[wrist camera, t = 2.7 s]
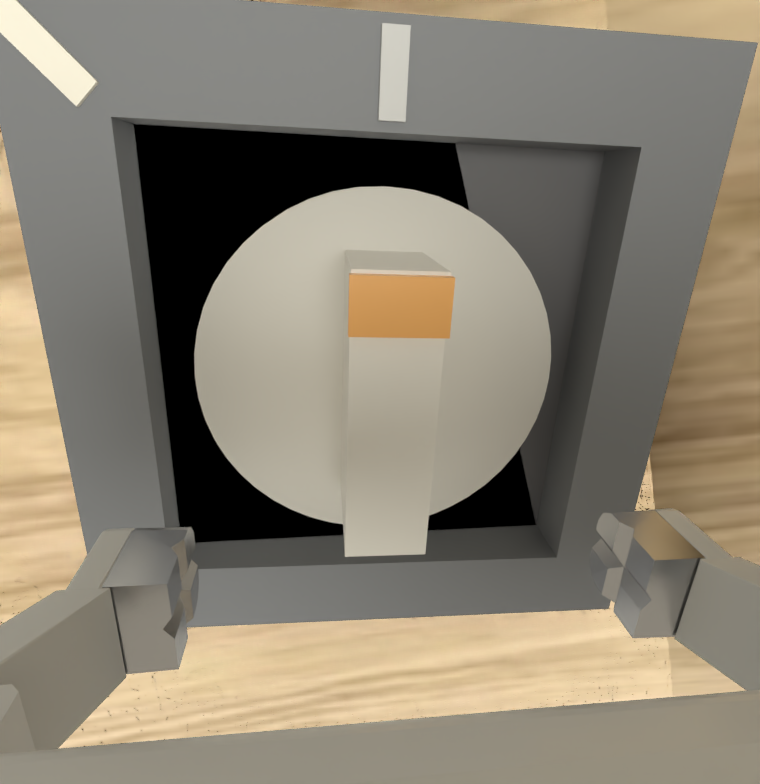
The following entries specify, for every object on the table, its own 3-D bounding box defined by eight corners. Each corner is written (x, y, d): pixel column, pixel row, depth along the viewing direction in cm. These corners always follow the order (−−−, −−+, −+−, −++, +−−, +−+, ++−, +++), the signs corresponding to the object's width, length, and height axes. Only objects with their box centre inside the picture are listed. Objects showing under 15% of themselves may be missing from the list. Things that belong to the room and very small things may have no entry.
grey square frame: (702, 60, 18) (762, 41, 15) (583, 571, 26) (610, 611, 24) (23, 8, 16) (-34, -25, 13) (124, 587, 24) (101, 634, 21)
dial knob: (512, 502, 23) (571, 603, 18) (216, 508, 22) (179, 619, 16) (561, 194, 19) (664, 198, 13) (188, 177, 17) (121, 173, 12)
